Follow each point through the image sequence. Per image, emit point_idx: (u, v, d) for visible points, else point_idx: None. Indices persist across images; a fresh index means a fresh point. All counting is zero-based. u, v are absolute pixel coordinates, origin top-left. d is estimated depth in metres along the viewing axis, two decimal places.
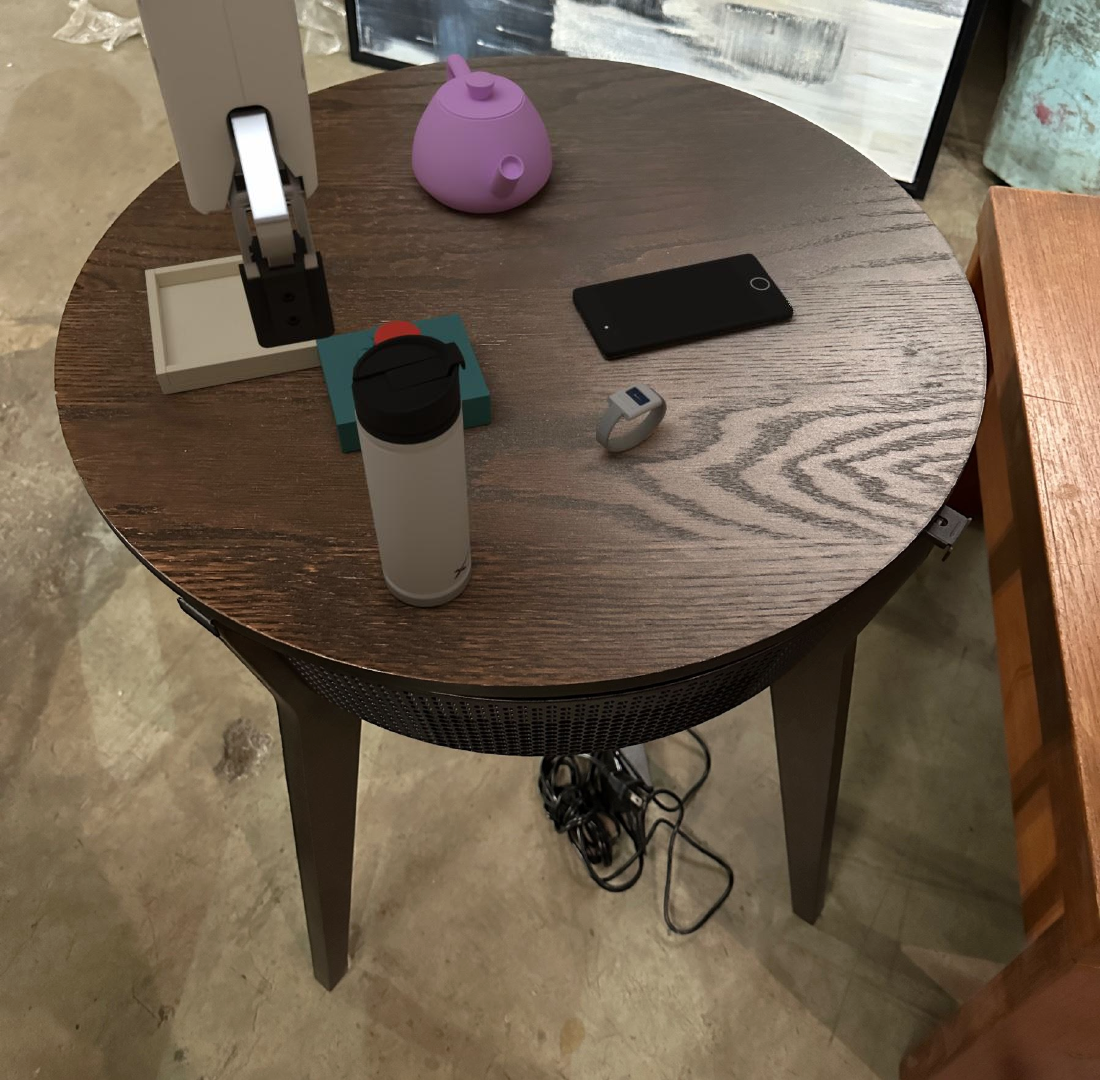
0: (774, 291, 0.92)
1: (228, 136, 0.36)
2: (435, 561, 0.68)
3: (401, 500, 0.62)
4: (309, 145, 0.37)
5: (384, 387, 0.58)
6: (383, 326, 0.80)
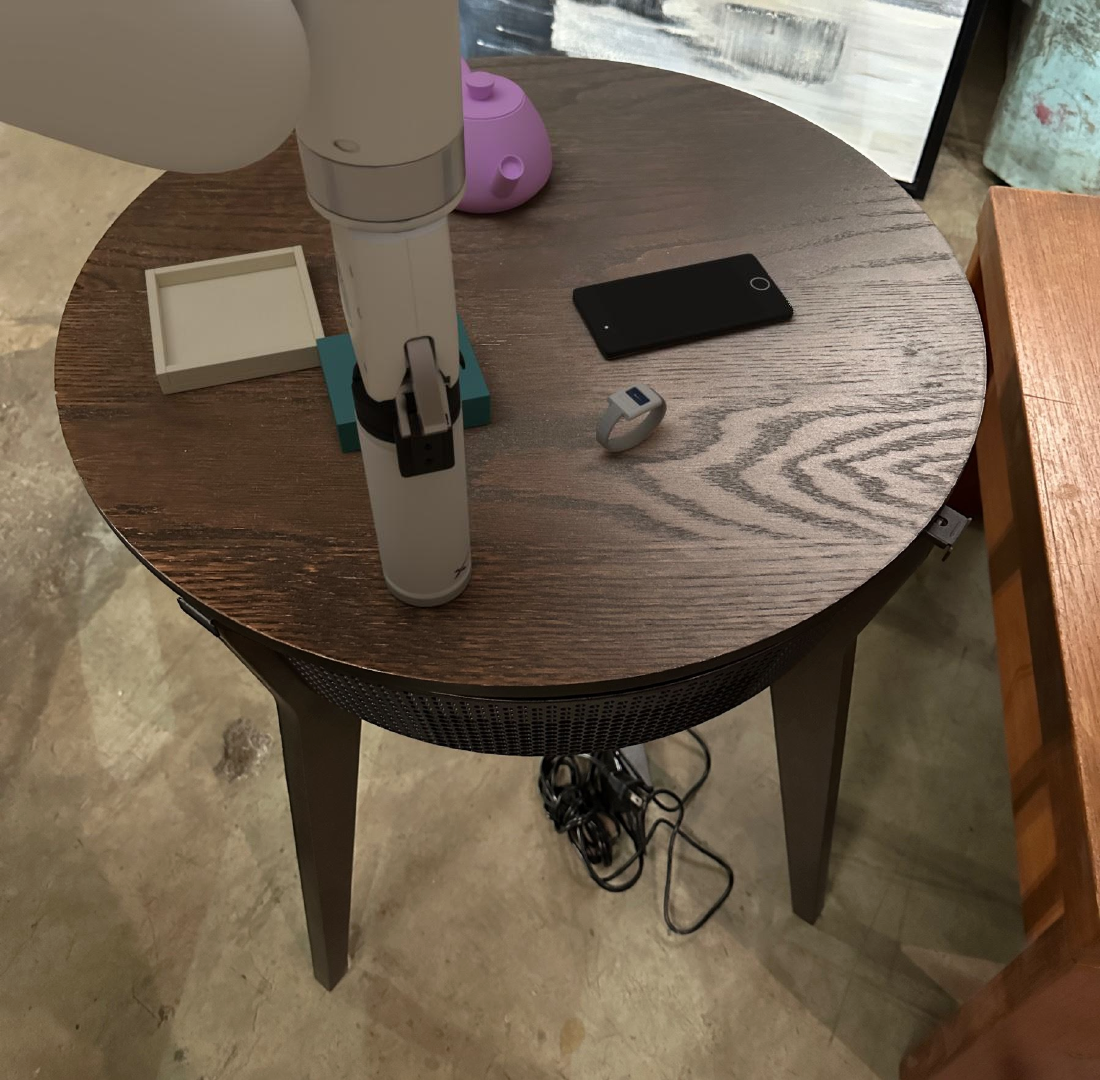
0: (774, 291, 0.92)
1: (403, 355, 0.50)
2: (435, 561, 0.68)
3: (401, 500, 0.62)
4: (456, 356, 0.52)
5: None
6: None
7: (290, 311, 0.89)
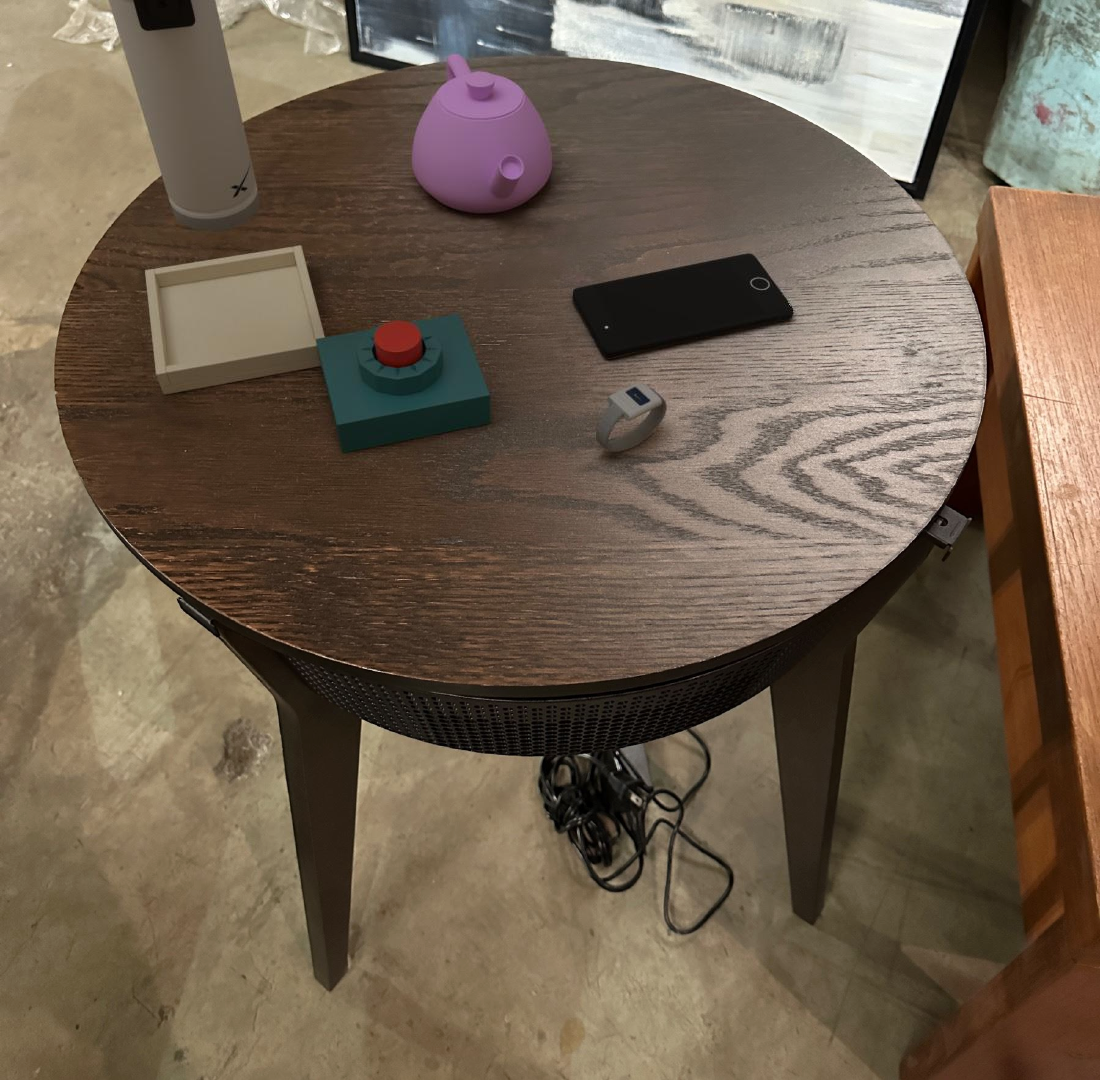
0: (774, 291, 0.92)
1: None
2: (206, 165, 0.70)
3: (155, 73, 0.64)
4: None
5: None
6: (383, 326, 0.80)
7: (290, 311, 0.89)
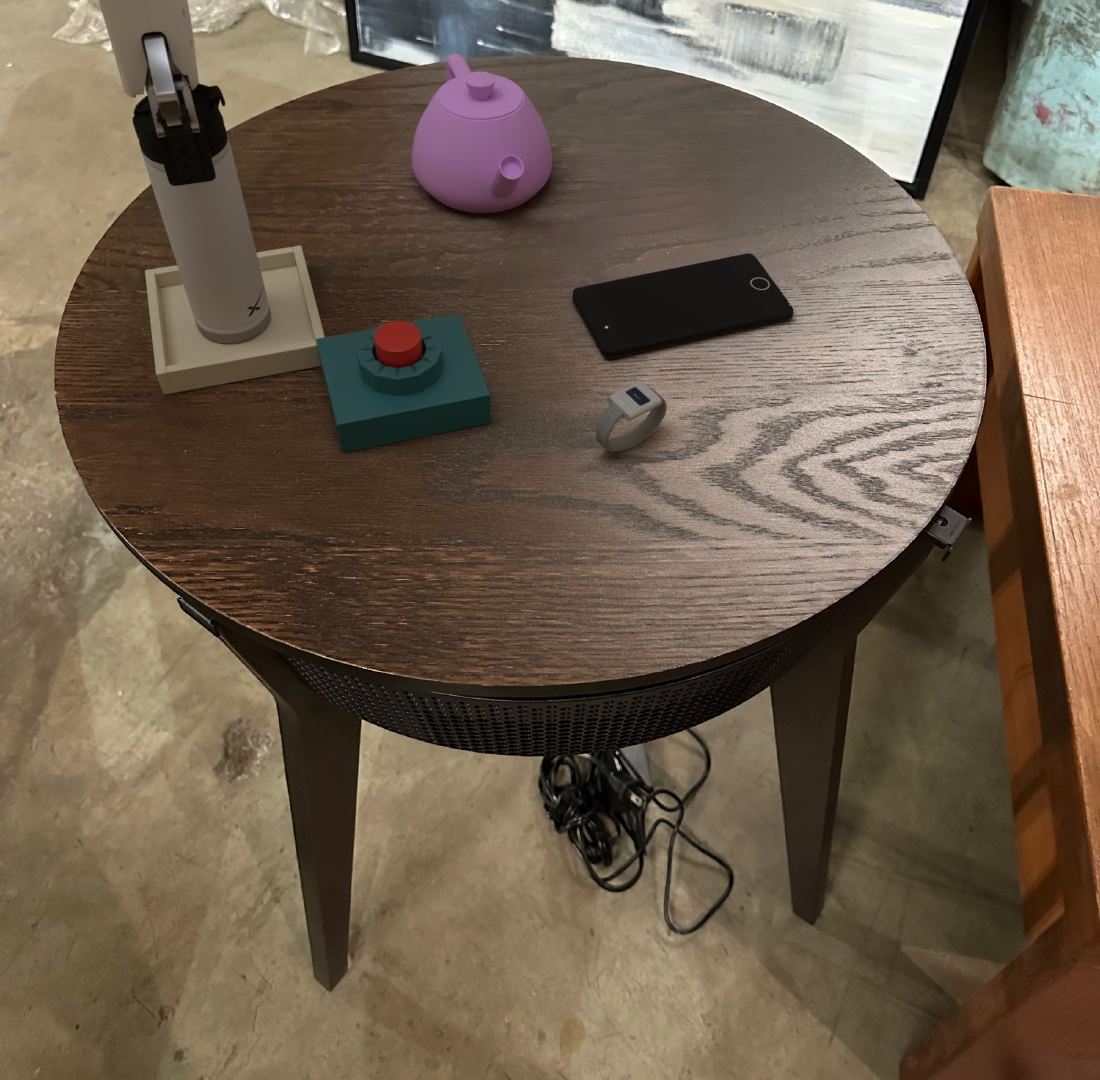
0: (774, 291, 0.92)
1: (142, 49, 0.64)
2: (226, 292, 0.82)
3: (185, 225, 0.77)
4: (190, 56, 0.66)
5: None
6: (383, 326, 0.80)
7: (290, 311, 0.89)
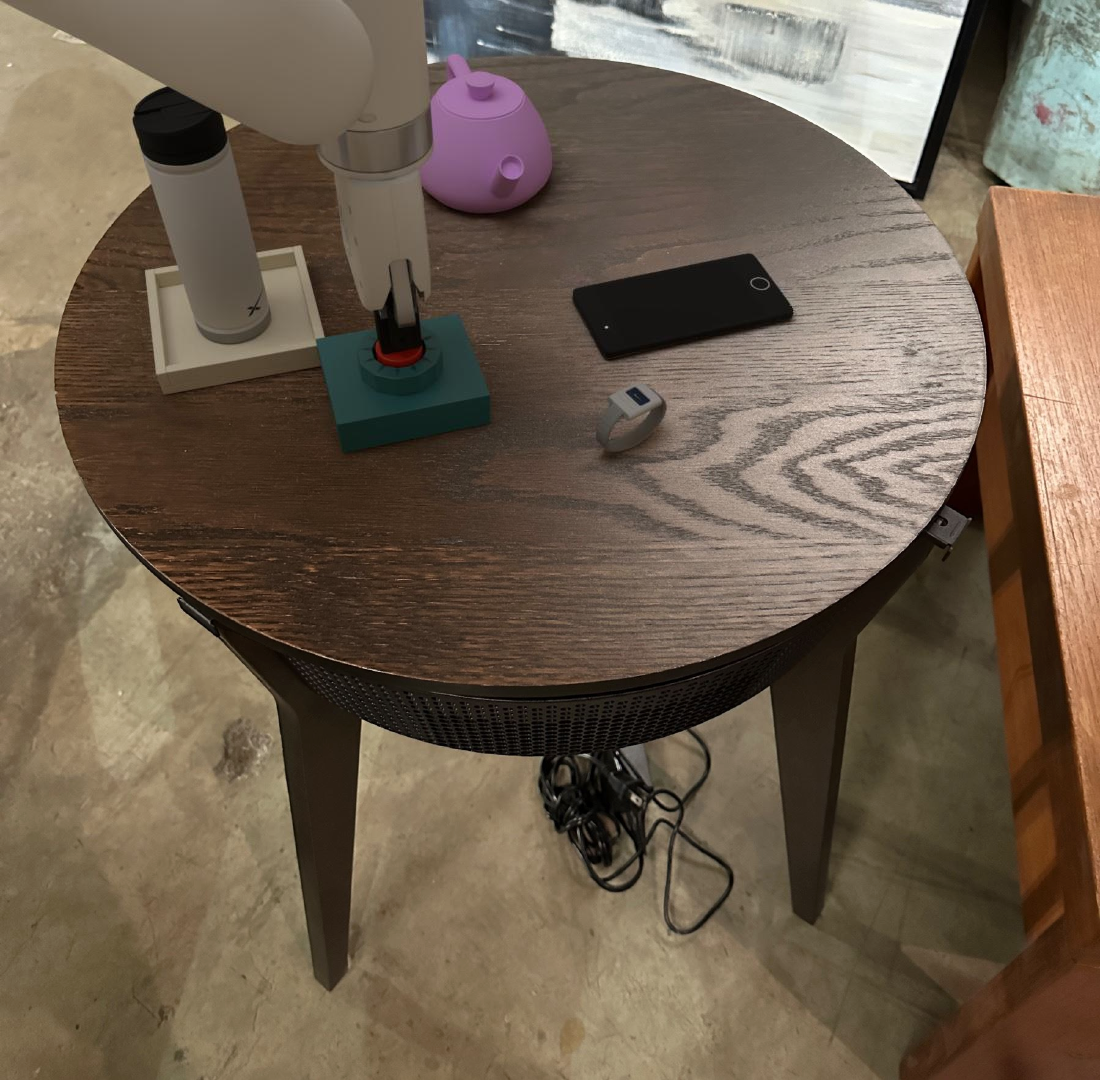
0: (774, 291, 0.92)
1: (389, 274, 0.68)
2: (226, 292, 0.82)
3: (185, 225, 0.77)
4: (428, 276, 0.70)
5: (158, 119, 0.73)
6: None
7: (290, 311, 0.89)
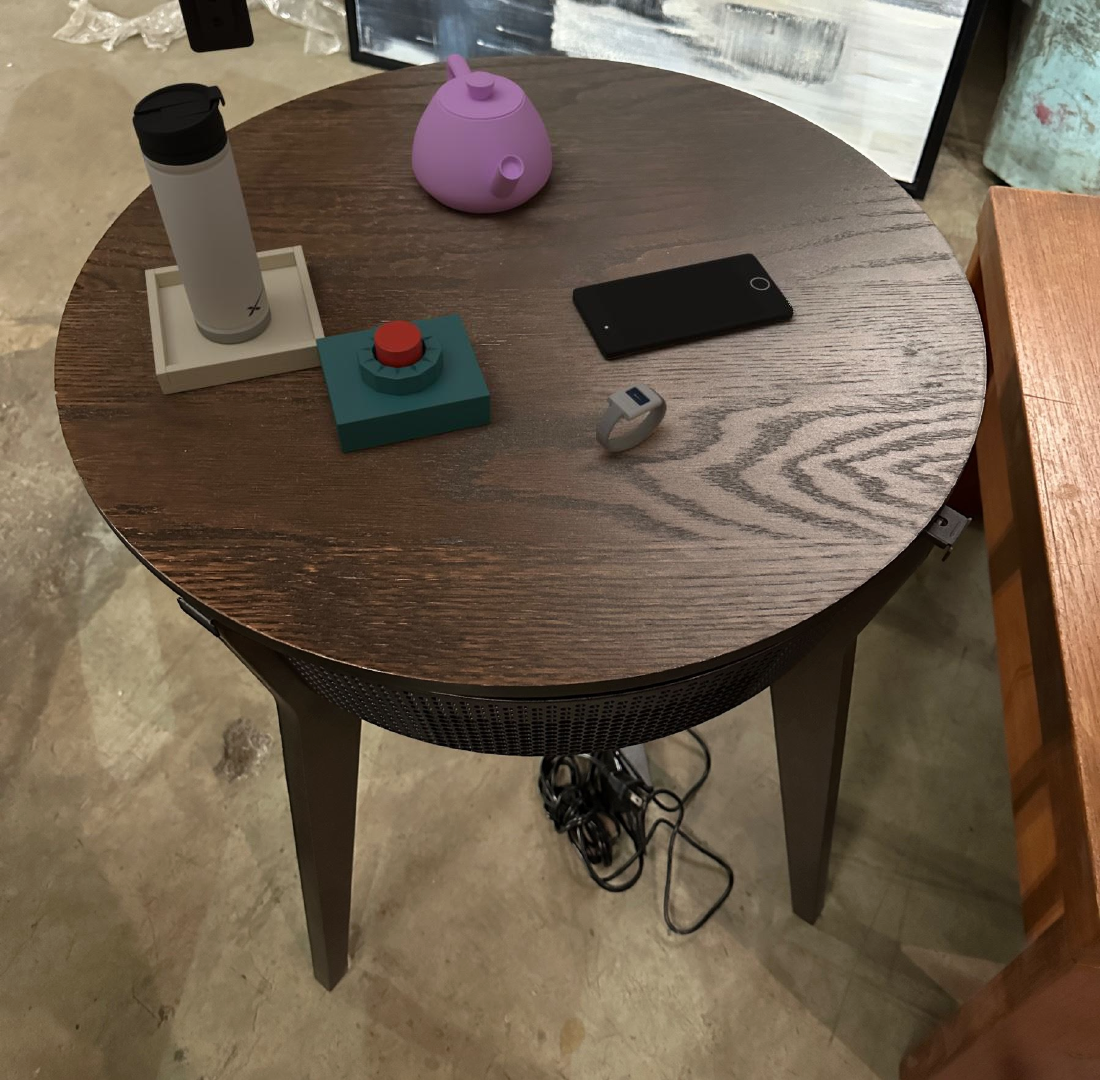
0: (774, 291, 0.92)
1: None
2: (226, 292, 0.82)
3: (185, 225, 0.77)
4: None
5: (158, 119, 0.73)
6: (383, 326, 0.80)
7: (290, 311, 0.89)
